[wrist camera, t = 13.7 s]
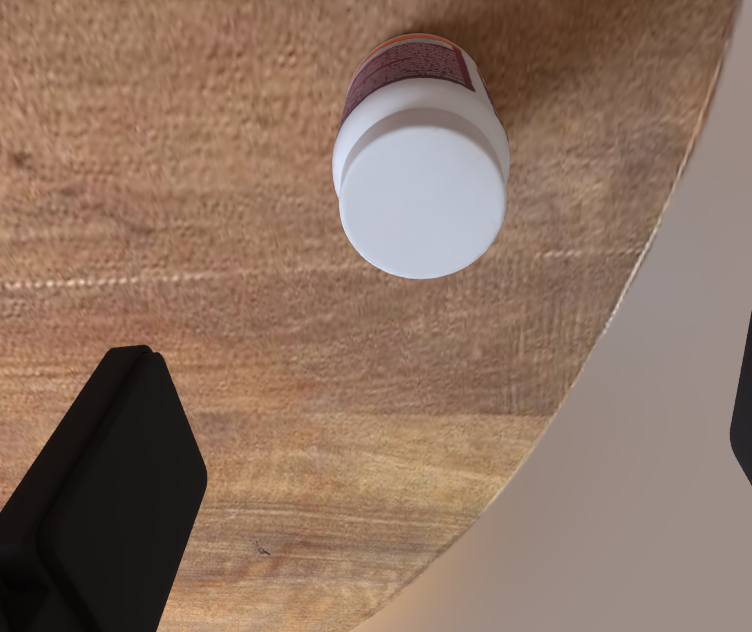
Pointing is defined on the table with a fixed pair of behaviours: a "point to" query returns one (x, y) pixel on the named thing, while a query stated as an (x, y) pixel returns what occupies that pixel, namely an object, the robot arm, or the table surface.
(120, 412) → the robot arm
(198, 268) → the table surface
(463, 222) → the pill bottle
